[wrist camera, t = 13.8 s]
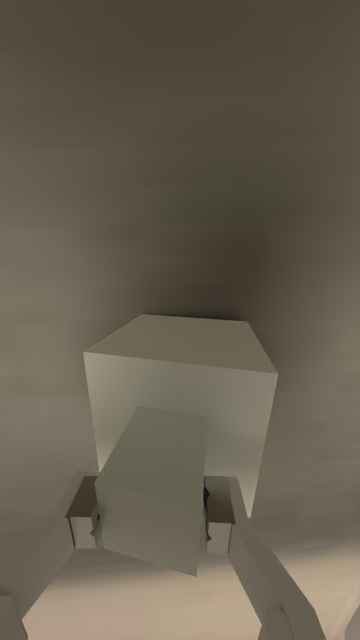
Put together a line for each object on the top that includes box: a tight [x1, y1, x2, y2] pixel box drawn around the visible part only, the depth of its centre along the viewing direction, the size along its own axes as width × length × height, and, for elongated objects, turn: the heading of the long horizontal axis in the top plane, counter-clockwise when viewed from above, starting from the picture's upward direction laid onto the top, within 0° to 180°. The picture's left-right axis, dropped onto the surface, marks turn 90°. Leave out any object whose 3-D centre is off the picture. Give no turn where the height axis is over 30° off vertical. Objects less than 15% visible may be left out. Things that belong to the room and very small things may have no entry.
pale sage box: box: [83, 314, 278, 576], centre depth 13 cm, size 10×10×13 cm
